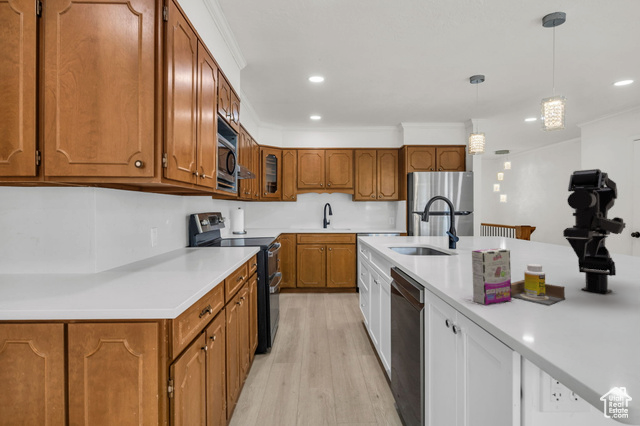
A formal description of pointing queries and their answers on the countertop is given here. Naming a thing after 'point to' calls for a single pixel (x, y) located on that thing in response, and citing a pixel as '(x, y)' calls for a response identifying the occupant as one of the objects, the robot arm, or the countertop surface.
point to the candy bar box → (491, 276)
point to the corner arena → (551, 297)
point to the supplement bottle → (534, 281)
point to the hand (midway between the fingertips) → (587, 258)
